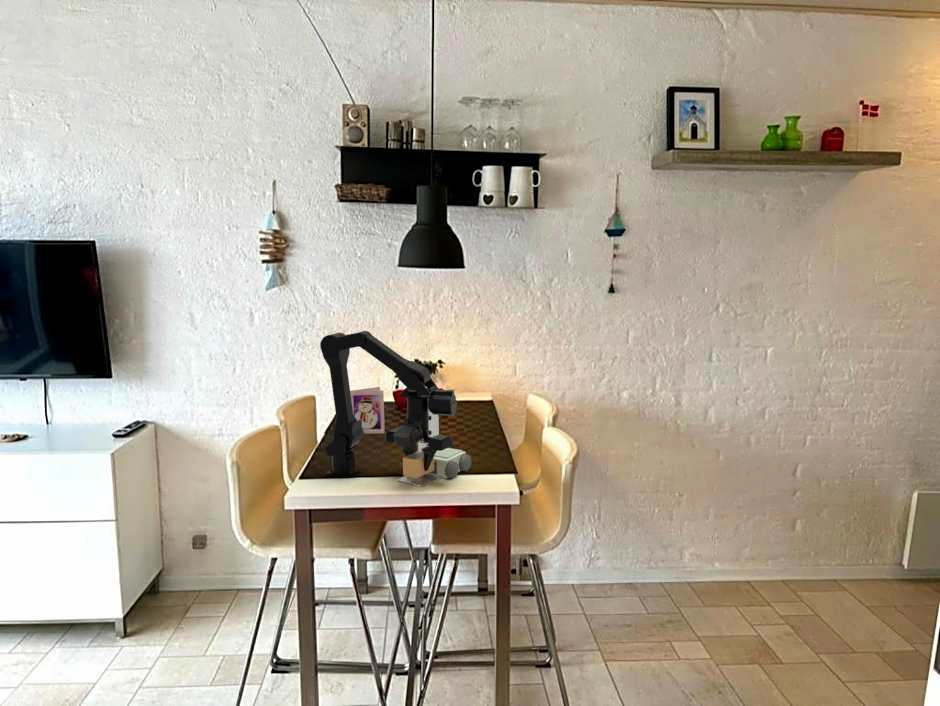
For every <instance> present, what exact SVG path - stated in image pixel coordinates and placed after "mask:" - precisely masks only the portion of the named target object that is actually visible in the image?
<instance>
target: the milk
mask: <svg viewBox="0 0 940 706" xmlns="http://www.w3.org/2000/svg"><path fill="white" fill-rule="evenodd" d="M426 388H427V387H426ZM428 409H429V408H428ZM429 416H431V420H429V430H431V431H432V434H431V435H429V437H434V436H437V435H439V434H440V433H439V431H440V425H439V421H440V420H439V416H440V415H433V414H432V412H430V410H429ZM423 440H424V439H423ZM425 447H426V443H421V442H417V452H418V451H420V450H421V449H422V448H425Z"/></svg>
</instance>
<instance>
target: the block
mask: <svg viewBox="0 0 940 706" xmlns="http://www.w3.org/2000/svg"><path fill="white" fill-rule="evenodd" d="M432 471H434V457H433V460H432V462H431V464H430V466H429V469H428V470H427V471H425V470H424V453H423V451H422V450H420V451H418V450H417V451H415V453H413V454H410V455H408V456H405V455H404V457H402V476H403V477H404V476H408V477H412V478H418V477H421V476H423V475H425V474H427V473H429V472H432Z"/></svg>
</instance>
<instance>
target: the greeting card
mask: <svg viewBox="0 0 940 706" xmlns="http://www.w3.org/2000/svg"><path fill="white" fill-rule="evenodd" d="M350 394H351V401H352V409H353V414H354V416H355V418H356V419H357V420H360V419H361V420H362V430H363V432H364V433H363V434H385V405H384V404H385V402H384V401H385V400H384V399H385V398H384V390H381V387H380V386H377V387H376V386H375V387H368V388H361V389H360V388H359V389H354V390H350Z"/></svg>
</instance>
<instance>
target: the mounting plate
mask: <svg viewBox="0 0 940 706" xmlns="http://www.w3.org/2000/svg"><path fill="white" fill-rule="evenodd" d="M440 478H441V479H443V478H442V476H437V475H432V474H425V475H423V476H421V477H418V478H412V477H408V476H404V475H403V476H402V477H400V478H398V479H396V480H397V482H398V481H401V482H400V483H403V482H406V483H405V484H408V483H409V485H412V484H415V485H414V486H417V485H419V486H418V487H422V486H423V488H426V487H427V486H429V485H431V484H433V483H435V482H436V480H437V481H439V480H440ZM438 479H439V480H438ZM434 481H435V482H434ZM432 482H433V483H432ZM430 483H431V484H430ZM426 485H427V486H426Z"/></svg>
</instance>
